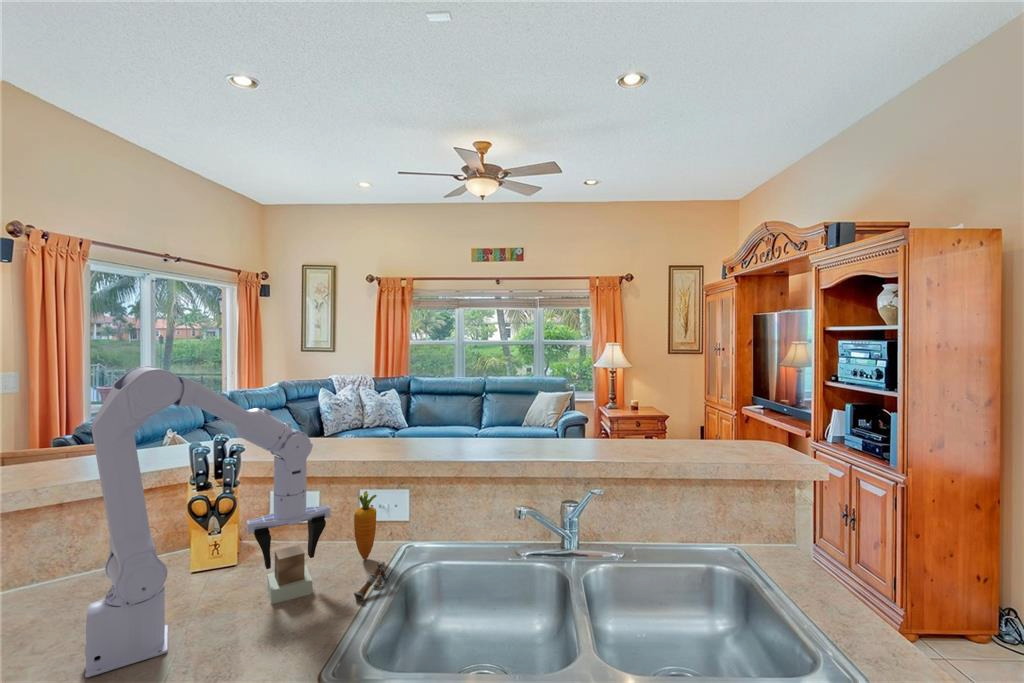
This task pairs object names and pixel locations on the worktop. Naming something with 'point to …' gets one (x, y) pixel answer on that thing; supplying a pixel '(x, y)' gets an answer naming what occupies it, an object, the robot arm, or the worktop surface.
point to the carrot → (365, 526)
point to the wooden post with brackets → (372, 581)
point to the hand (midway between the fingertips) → (289, 561)
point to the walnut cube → (289, 565)
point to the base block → (288, 588)
